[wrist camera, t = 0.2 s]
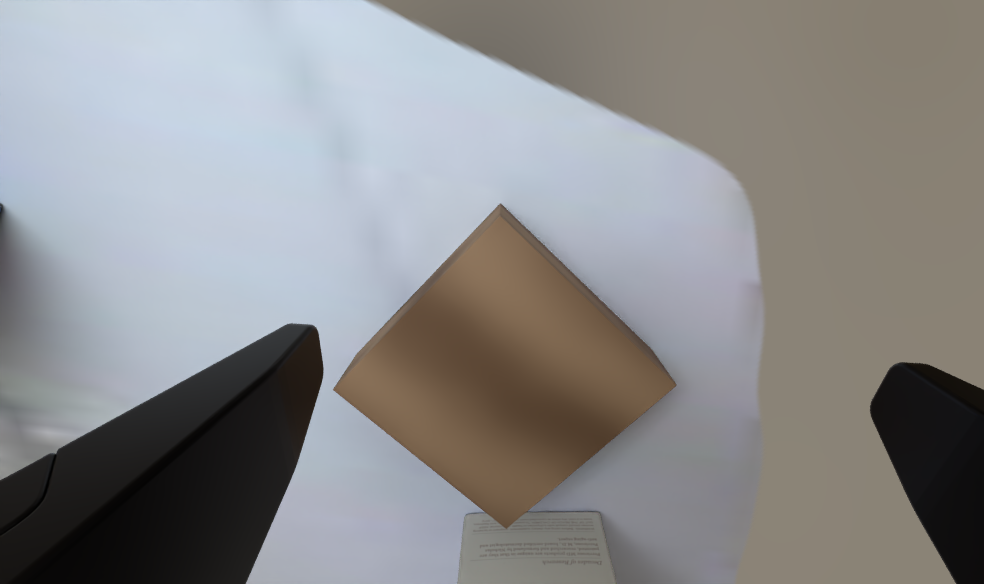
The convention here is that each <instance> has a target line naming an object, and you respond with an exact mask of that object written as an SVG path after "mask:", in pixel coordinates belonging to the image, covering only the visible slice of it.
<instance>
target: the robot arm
mask: <svg viewBox="0 0 984 584" xmlns="http://www.w3.org/2000/svg"><path fill="white" fill-rule="evenodd" d="M322 379H323V361H322V354H321V347H320V340H319V334H318V331H317V328H316V327H315V326H313V325H308V324H293V323H291V324H287V325H285V326H283V327H281V328H279V329H278V330H276V331H274V332H272V333H270V334H268V335H267V336H265V337H263V338H261V339H259V340H257V341H256V342H254V343H252V344H250V345H248V346H246V347H245V348H243V349H241V350H239V351H237V352H235V353H234V354H232V355H230V356H228V357H226V358H224V359H223V360H221V361H219V362H217V363H215V364H213V365H212V366H210V367H208V368H206V369H204V370H202V371H201V372H199V373H197V374H195V375H193V376H191V377H190V378H188V379H186V380H184V381H182V382H180V383H179V384H177V385H175V386H173V387H171V388H169V389H168V390H166V391H164V392H162V393H160V394H158V395H157V396H155V397H153V398H151V399H149V400H147V401H146V402H144V403H142V404H140V405H138V406H136V407H135V408H133V409H131V410H129V411H127V412H125V413H124V414H122V415H120V416H118V417H116V418H114V419H113V420H111V421H109V422H107V423H105V424H103V425H102V426H100V427H98V428H96V429H94V430H92V431H91V432H89V433H87V434H85V435H83V436H81V437H80V438H78V439H76V440H74V441H72V442H70V443H69V444H67V445H65V446H63V447H61V448H60V449H58V451H57V453H56V454H54V453H50V454H48V455H46V456H44V457H43V458H41V459H39V460H37V461H35V462H34V463H32V464H30V465H28V466H26V467H24V468H23V469H21V470H19V471H17V472H15V473H13V474H11V475H10V476H8V477H6V478H4V479H2V480H0V584H246V582H247V580H248V577H249V575H250V573H251V570H252V568H253V566H254V563H255V561H256V559H257V557H258V554H259V552H260V550H261V547H262V545H263V543H264V540H265V538H266V536H267V534H268V531H269V529H270V527H271V524H272V522H273V520H274V517H275V515H276V513H277V510H278V508H279V506H280V504H281V501H282V499H283V497H284V494H285V492H286V490H287V487H288V485H289V483H290V480H291V478H292V475H293V473H294V470H295V468H296V465H297V462H298V459H299V456H300V453H301V450H302V446H303V443H304V440H305V436H306V433H307V430H308V426H309V423H310V420H311V417H312V413H313V410H314V407H315V403H316V400H317V397H318V393H319V390H320V387H321V383H322ZM870 413H871V417H872V420H873V422H874V424H875V427H876V429H877V431H878V433H879V435H880V438H881V440H882V442H883V444H884V446H885V448H886V451H887V453H888V455H889V457H890V460H891V462H892V464H893V466H894V468H895V470H896V473H897V475H898V477H899V479H900V481H901V484H902V486H903V488H904V490H905V492H906V494H907V497H908V498H909V501H910V503H911V505H912V507H913V509H914V511H915V512H916V514H917V516H918V518H919V520H920V522H921V523H922V525H923V527H924V528H925V530H926V532H927V534H928V536H929V537H930V539H931V541H932V542H933V544H934V546H935V548H936V549H937V551H938V553H939V555H940V556H941V558H942V560H943V561H944V563H945V565H946V567H947V569H948V570H949V572H950V574H951V576H952V577H953V579H954V581H955V582H956V584H984V390H983V389H981V388H978V387H976V386H974V385H972V384H970V383H967V382H965V381H963V380H961V379H959V378H957V377H955V376H952V375H950V374H948V373H946V372H944V371H942V370H939V369H937V368H935V367H933V366H930V365H927V364H921V363H905V362H901V363H897V364H895V365H893V366H892V367H891V368H890V369H889V370H888V372H887V374H886V376H885V378H884V379H883V381H882V383H881V385H880V387H879V388H878V390H877V392H876V394H875V396H874V398H873V399H872V401H871V405H870Z"/></svg>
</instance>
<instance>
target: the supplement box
mask: <svg viewBox="0 0 984 584" xmlns="http://www.w3.org/2000/svg"><path fill="white" fill-rule="evenodd" d="M457 584H617V582H616V578H615V574H614V570H613V566H612V562H611V558H610V554H609V549H608V545H607V541H606V537H605V533H604V529H603V525H602V521H601V516H600V513H598V512H526V513H525V514H523V515H522V516H521V517H520V518H519V519H517V520H516V521H515V522H514V523H513V524H512V525H510V526H509V527H508V528H507V529H506V528H504V527H503V526H502V525H501V524H499V523H498V522H497V521H496V520H494V519H493V518H492V517H491V516H489V515H488V514H487V513H476V514H468V515H466V516H465V517H464V524H463V534H462V543H461V553H460V562H459V573H458V583H457Z"/></svg>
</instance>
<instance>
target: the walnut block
mask: <svg viewBox="0 0 984 584" xmlns="http://www.w3.org/2000/svg"><path fill="white" fill-rule="evenodd" d="M675 386H676V383H675V382H674V381H673V379H672V378H671V376H670V375H669V373H668V372H667V371H666V369H665V368H664V366H663V365H662V363H661V362H660V361H659V359H658V358H657V356H656V355H655V353H654V352H653V350H652V349H651V348H650V347H649V346H648V345H647V344H646V343H644V342H643V341H642V340H641V339H640V338H639V337H638V336H637V335H636V334H635V333H634V332H633V331H632V330H631V329H630V328H629V327H628V326H627V325H626V324H625V323H624V322H623V321H622V320H621V319H620V318H619V317H618V316H617V315H616V314H614V313H613V312H612V311H611V310H610V309H609V308H608V307H607V306H606V305H605V304H604V303H603V302H602V301H601V300H600V299H599V298H598V297H597V296H596V295H595V294H594V293H593V292H592V291H591V290H590V289H589V288H588V287H587V286H585V285H584V284H583V283H582V282H581V281H580V280H579V279H578V278H577V277H576V276H575V275H574V274H573V273H572V272H571V271H570V270H569V269H568V268H567V267H566V266H565V265H564V264H563V263H562V262H561V261H560V260H559V259H558V258H557V257H555V256H554V255H553V254H552V253H551V252H550V251H549V250H548V249H547V248H546V247H545V246H544V245H543V244H542V243H541V242H540V241H539V240H538V239H537V238H536V237H535V236H534V235H533V234H532V233H531V232H530V231H529V230H528V229H526V228H525V227H524V226H523V225H522V224H521V223H520V222H519V221H518V220H517V219H516V218H515V217H514V216H513V215H512V214H511V213H510V212H509V211H508V210H507V209H506V208H505V207H504V206H503V205H502V204H501V203H500V204H499V205H498V206H497V207H496V208H495V209H494V211H493V212H492V213H491V214H490V215H489V216H488V217H487V218H486V219H485V220H484V221H483V222H482V223H481V224H480V225H479V226H478V227H477V228H476V229H475V230H474V231H473V233H472V234H471V235H470V236H469V237H468V238H467V239H466V240H465V241H464V242H463V243H462V244H461V245H460V246H459V247H458V248H457V249H456V250H455V251H454V252H453V254H452V255H451V256H450V257H449V258H448V259H447V260H446V261H445V262H444V263H443V264H442V265H441V266H440V267H439V268H438V269H437V270H436V271H435V272H434V273H433V274H432V276H431V277H430V278H429V279H428V280H427V281H426V282H425V283H424V284H423V285H422V286H421V287H420V288H419V289H418V290H417V291H416V292H415V293H414V294H413V295H412V297H411V298H410V299H409V300H408V301H407V302H406V303H405V304H404V305H403V306H402V307H401V308H400V309H399V310H398V311H397V312H396V313H395V314H394V315H393V316H392V317H391V319H390V320H389V321H388V322H387V323H386V324H385V325H384V326H383V327H382V328H381V329H380V330H379V331H378V332H377V333H376V334H375V335H374V336H373V337H372V338H371V340H370V341H369V342H368V343H367V344H366V345H365V346H364V347H363V348H362V349H361V350H360V351H359V352H358V353H357V354H356V356H355V357H354V359H353V360H352V362H351V363H350V365H349V366H348V368H347V369H346V371H345V372H344V374H343V375H342V377H341V378H340V380H339V381H338V383H337V384H336V386H335V387H334V389H333V390H334V391H335V392H336V393H338V394H339V395H340V396H341V397H343V398H344V399H345V400H346V401H348V402H349V403H350V404H351V405H353V406H354V407H355V408H356V409H358V410H359V411H360V412H361V413H363V414H364V415H365V416H366V417H368V418H369V419H370V420H371V421H373V422H374V423H375V424H376V425H378V426H379V427H380V428H381V429H382V430H384V431H385V432H386V433H387V434H389V435H390V436H391V437H392V438H394V439H395V440H396V441H397V442H399V443H400V444H401V445H402V446H404V447H405V448H406V449H407V450H409V451H410V452H411V453H412V454H414V455H415V456H416V457H417V458H419V459H420V460H421V461H422V462H424V463H425V464H426V465H427V466H429V467H430V468H431V469H432V470H433V471H435V472H436V473H437V474H438V475H440V476H441V477H442V478H443V479H445V480H446V481H447V482H448V483H450V484H451V485H452V486H453V487H455V488H456V489H457V490H458V491H460V492H461V493H462V494H463V495H465V496H466V497H467V498H468V499H470V500H471V501H472V502H473V503H475V504H476V505H477V506H478V507H480V508H481V509H482V510H483V511H484V512H486V513H487V514H488V515H489V516H491V517H492V518H493V519H494V520H496V521H497V522H498V523H499V524H501V525H502V526H503V527H504V528H506V529H507V528H508V527H509V526H510V525H512V524H513V523H514V522H515V521H516V520H517V519H519V518H520V517H521V516H522V515H523V514H525V513H526V512H527V511H528V510H529V509H530V508H532V507H533V506H534V505H535V504H536V503H538V502H539V501H540V500H541V499H542V498H544V497H545V496H546V495H547V494H548V493H549V492H551V491H552V490H553V489H554V488H555V487H557V486H558V485H559V484H560V483H561V482H563V481H564V480H565V479H566V478H567V477H568V476H570V475H571V474H572V473H573V472H574V471H576V470H577V469H578V468H579V467H580V466H582V465H583V464H584V463H585V462H586V461H587V460H589V459H590V458H591V457H592V456H593V455H595V454H596V453H597V452H598V451H599V450H601V449H602V448H603V447H604V446H605V445H606V444H608V443H609V442H610V441H611V440H612V439H614V438H615V437H616V436H617V435H618V434H620V433H621V432H622V431H623V430H624V429H625V428H627V427H628V426H629V425H630V424H631V423H633V422H634V421H635V420H636V419H637V418H638V417H640V416H641V415H642V414H643V413H644V412H646V411H647V410H648V409H649V408H650V407H652V406H653V405H654V404H655V403H656V402H657V401H659V400H660V399H661V398H662V397H663V396H665V395H666V394H667V393H668V392H669V391H671V390H672V389H673V388H674V387H675Z"/></svg>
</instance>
